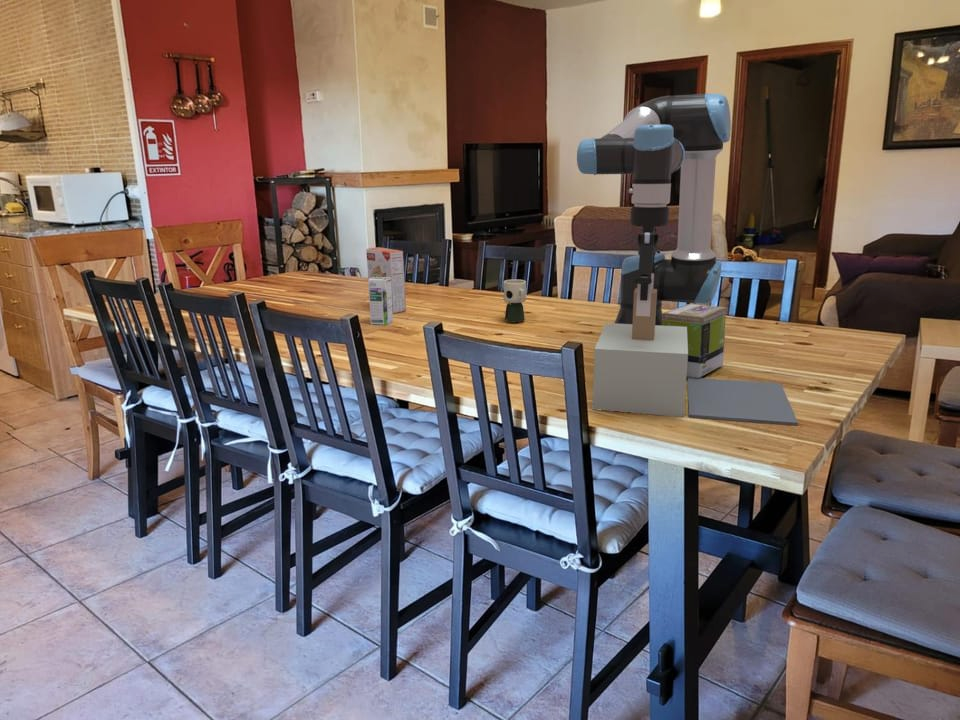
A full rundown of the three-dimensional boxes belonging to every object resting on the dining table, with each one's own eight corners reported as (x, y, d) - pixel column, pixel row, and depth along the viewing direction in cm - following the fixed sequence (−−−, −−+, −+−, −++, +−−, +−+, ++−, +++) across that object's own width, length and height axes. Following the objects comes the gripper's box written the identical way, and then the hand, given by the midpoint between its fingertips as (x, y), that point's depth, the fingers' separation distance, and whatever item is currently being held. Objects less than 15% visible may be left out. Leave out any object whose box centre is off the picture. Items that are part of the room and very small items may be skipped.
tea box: (684, 360, 177) (688, 302, 173) (723, 366, 171) (728, 306, 167) (658, 372, 166) (661, 310, 162) (699, 379, 159) (704, 315, 156)
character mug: (496, 319, 224) (496, 279, 220) (516, 317, 227) (516, 277, 223) (513, 326, 215) (513, 284, 211) (533, 324, 218) (533, 282, 214)
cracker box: (368, 308, 244) (365, 248, 239) (383, 305, 248) (379, 246, 242) (392, 314, 234) (389, 251, 229) (406, 311, 238) (403, 250, 232)
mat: (687, 379, 162) (687, 377, 161) (780, 385, 156) (780, 383, 156) (688, 417, 139) (689, 414, 138) (797, 425, 133) (798, 422, 133)
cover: (603, 376, 165) (607, 280, 158) (683, 381, 160) (689, 282, 154) (592, 409, 143) (596, 299, 137) (683, 416, 139) (691, 303, 132)
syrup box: (370, 324, 220) (367, 279, 216) (377, 320, 226) (374, 276, 222) (387, 325, 219) (384, 279, 215) (393, 321, 224) (391, 276, 220)
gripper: (634, 202, 153) (630, 297, 159) (626, 209, 130) (621, 320, 136) (670, 202, 151) (664, 298, 157) (668, 209, 128) (661, 322, 134)
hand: (644, 309), depth 146 cm, fingers open, 13 cm apart
